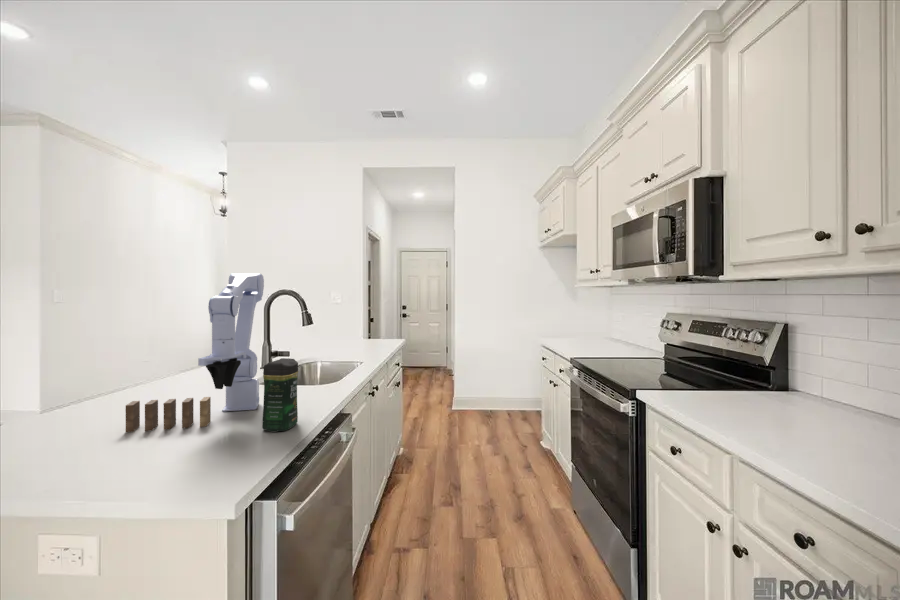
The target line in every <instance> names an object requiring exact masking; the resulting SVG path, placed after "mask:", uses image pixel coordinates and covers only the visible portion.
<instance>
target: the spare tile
mask: <svg viewBox="0 0 900 600" xmlns="http://www.w3.org/2000/svg"><path fill="white" fill-rule="evenodd" d="M211 400H212V399H211V396H204V397H203V398H202V399H201V400H199V427H200V428H202V427H203V428H204V427H208V426H209V425H210V423H211V422H212V421H211V415H212V414H211V411H212V410H211Z"/></svg>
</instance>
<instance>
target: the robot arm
mask: <svg viewBox="0 0 900 600" xmlns="http://www.w3.org/2000/svg"><path fill="white" fill-rule="evenodd" d="M228 276H229V277H228V284H227V285H226V286H224V288H222V290H221V291H220V293H219V294H218V295H214V296H213V297H210V298H209V300H208V305H207V306H208V307H207V308H208V314H209V322H210V324H211V353H210V354H209V355H207V356H203V357H198V366H201V367H205V368H206V369H207V371H208V372H209V374H210V376H211V378H212V382H213V384H214V389H216V390H223V389H224V387H225V406H224V407H223V408H222V410H221V412H223V413H224V412H238V411H248V410H249V411H253V410H257V409H258V406H259V405H260V381H259V379H258V378H255V377H256V376H257V373H258V356H257V354H256V353H255V352H254V351H252V349H250V346H251V338H252V332H253V331H252V330H253V324H254V316H255V309H256V305H257V303H259V302H260V301H262V298H263V295H264V287H265V279H264V275H263V274H262V273H260V272H259V273H244V272H243V273H242V272H241V273H238V272H237V273H235V272H232V273H230V274H229V275H228ZM236 318H237V320H236Z"/></svg>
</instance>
